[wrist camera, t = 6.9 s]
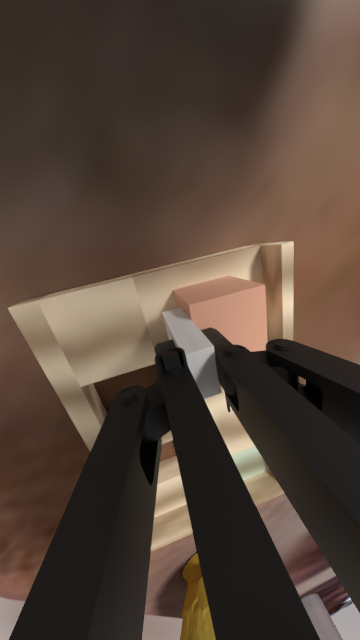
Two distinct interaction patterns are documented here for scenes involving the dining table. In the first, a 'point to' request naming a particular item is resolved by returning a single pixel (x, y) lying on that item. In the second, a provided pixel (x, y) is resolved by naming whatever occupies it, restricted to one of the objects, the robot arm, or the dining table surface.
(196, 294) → the salmon block
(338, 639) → the pillar candle
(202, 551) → the robot arm
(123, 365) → the cube sorting tray
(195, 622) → the pitcher
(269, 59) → the dining table surface
